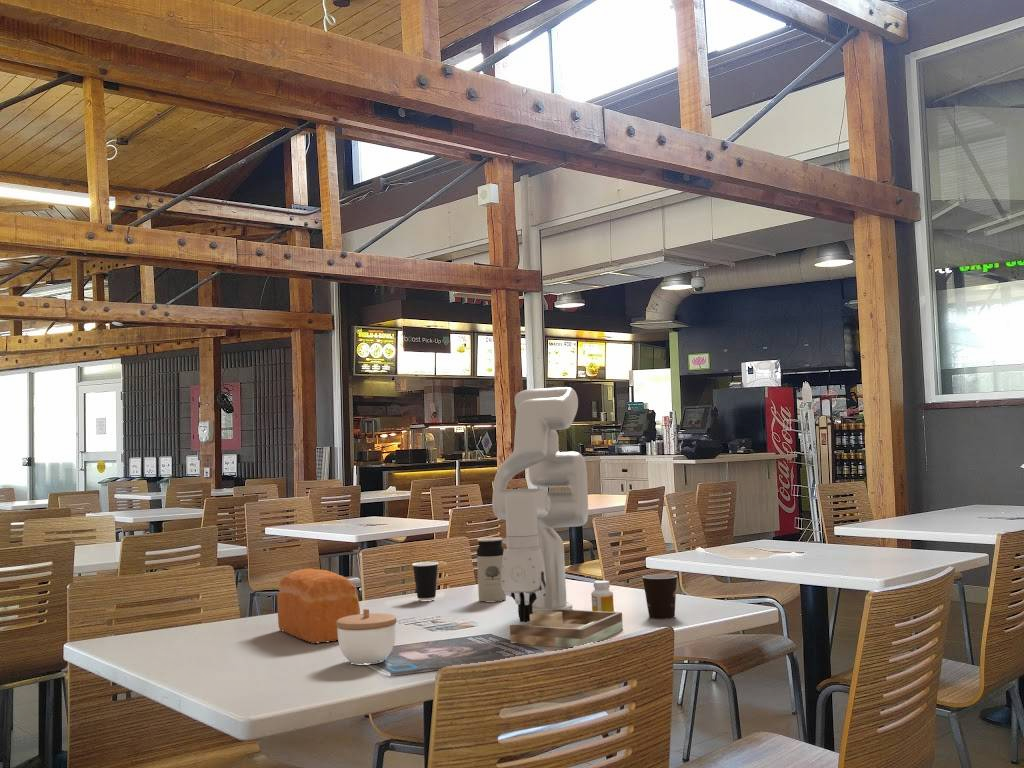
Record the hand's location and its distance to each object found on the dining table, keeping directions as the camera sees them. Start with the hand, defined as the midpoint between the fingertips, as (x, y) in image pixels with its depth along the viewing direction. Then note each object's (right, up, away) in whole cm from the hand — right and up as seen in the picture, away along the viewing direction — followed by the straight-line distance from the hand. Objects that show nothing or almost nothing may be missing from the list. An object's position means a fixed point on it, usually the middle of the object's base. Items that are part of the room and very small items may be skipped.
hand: (525, 621), depth 220 cm
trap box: (+10, -2, -6) cm, 11 cm away
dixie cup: (-29, -9, +58) cm, 65 cm away
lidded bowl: (-34, -3, -23) cm, 41 cm away
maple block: (+5, -1, -3) cm, 5 cm away
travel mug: (-9, -8, +52) cm, 53 cm away
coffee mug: (+35, -3, +15) cm, 39 cm away
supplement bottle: (+20, -3, +12) cm, 23 cm away
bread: (-52, -6, +11) cm, 53 cm away
